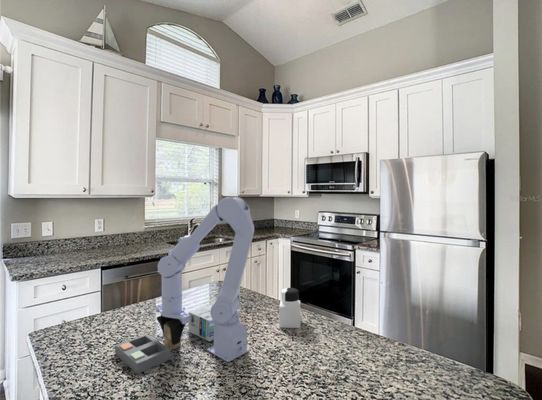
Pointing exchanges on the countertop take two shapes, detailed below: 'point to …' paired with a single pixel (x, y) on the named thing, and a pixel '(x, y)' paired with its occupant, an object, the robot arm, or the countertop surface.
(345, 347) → the countertop surface
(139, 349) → the port board
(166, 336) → the plug
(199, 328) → the light bulb box
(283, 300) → the medicine bottle
